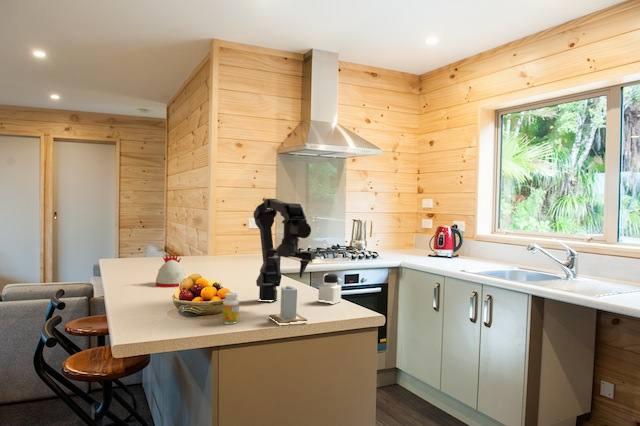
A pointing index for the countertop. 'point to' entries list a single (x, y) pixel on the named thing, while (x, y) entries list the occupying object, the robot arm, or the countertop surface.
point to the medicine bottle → (330, 288)
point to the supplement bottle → (230, 308)
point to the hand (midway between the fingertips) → (289, 276)
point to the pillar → (288, 302)
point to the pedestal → (281, 320)
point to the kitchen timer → (170, 273)
